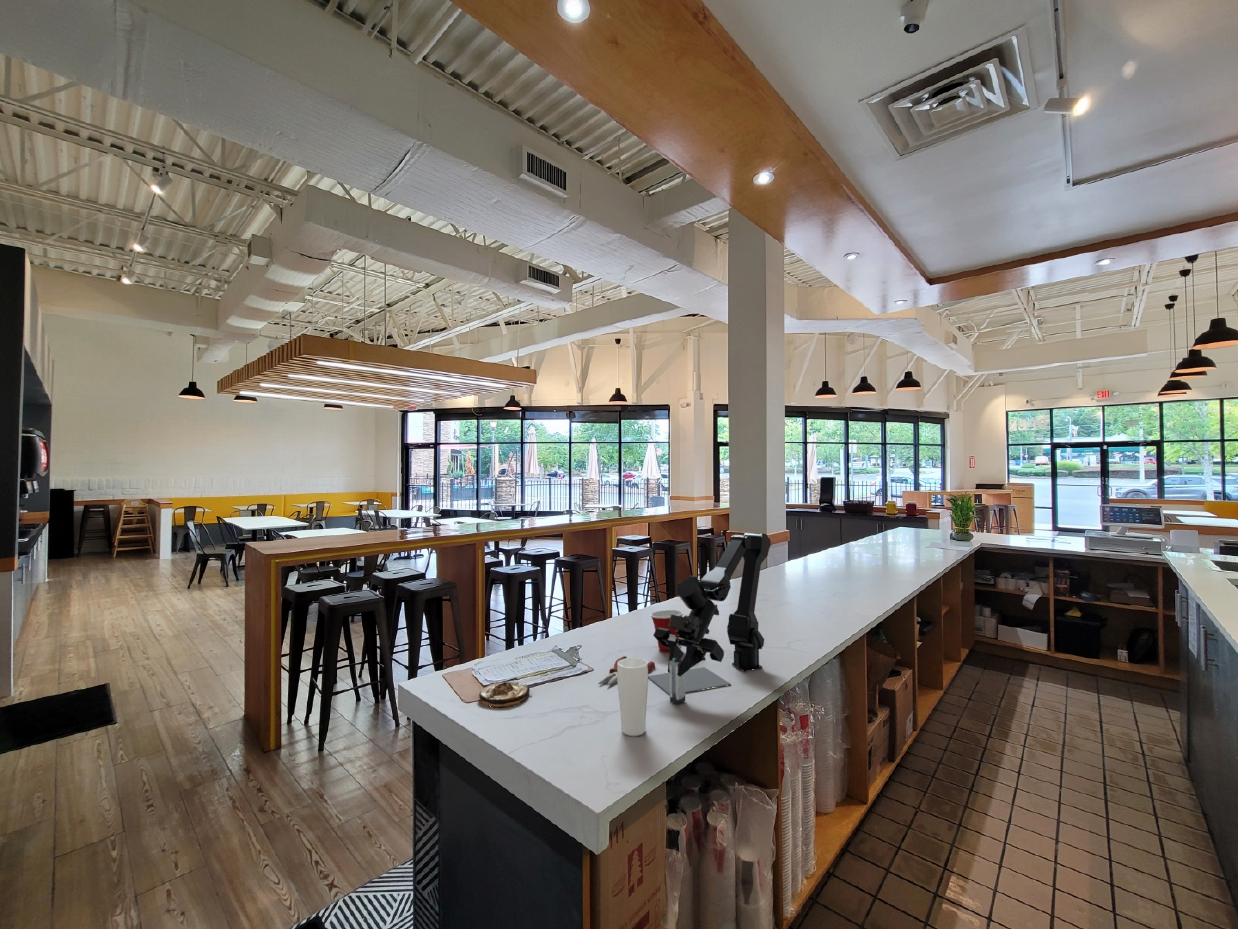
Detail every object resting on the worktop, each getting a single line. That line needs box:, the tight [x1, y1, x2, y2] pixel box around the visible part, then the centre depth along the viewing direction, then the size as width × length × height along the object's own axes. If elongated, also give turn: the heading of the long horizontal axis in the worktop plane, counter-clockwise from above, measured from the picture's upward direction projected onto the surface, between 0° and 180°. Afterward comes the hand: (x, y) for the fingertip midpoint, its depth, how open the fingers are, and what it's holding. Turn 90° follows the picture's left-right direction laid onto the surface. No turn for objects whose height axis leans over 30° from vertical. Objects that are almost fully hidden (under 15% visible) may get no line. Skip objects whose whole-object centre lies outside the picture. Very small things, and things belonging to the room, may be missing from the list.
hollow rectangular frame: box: [668, 658, 686, 706], centre depth 134 cm, size 3×3×11 cm
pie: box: [478, 680, 533, 709], centre depth 138 cm, size 15×15×4 cm
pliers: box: [597, 655, 656, 687], centre depth 152 cm, size 12×20×3 cm, turn 149°
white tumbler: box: [617, 657, 649, 737], centre depth 118 cm, size 7×7×15 cm
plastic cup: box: [649, 609, 684, 653], centre depth 175 cm, size 11×11×12 cm
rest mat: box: [648, 666, 732, 697], centre depth 147 cm, size 18×14×1 cm
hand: (673, 674), depth 133 cm, fingers closed on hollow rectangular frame, 3 cm apart
